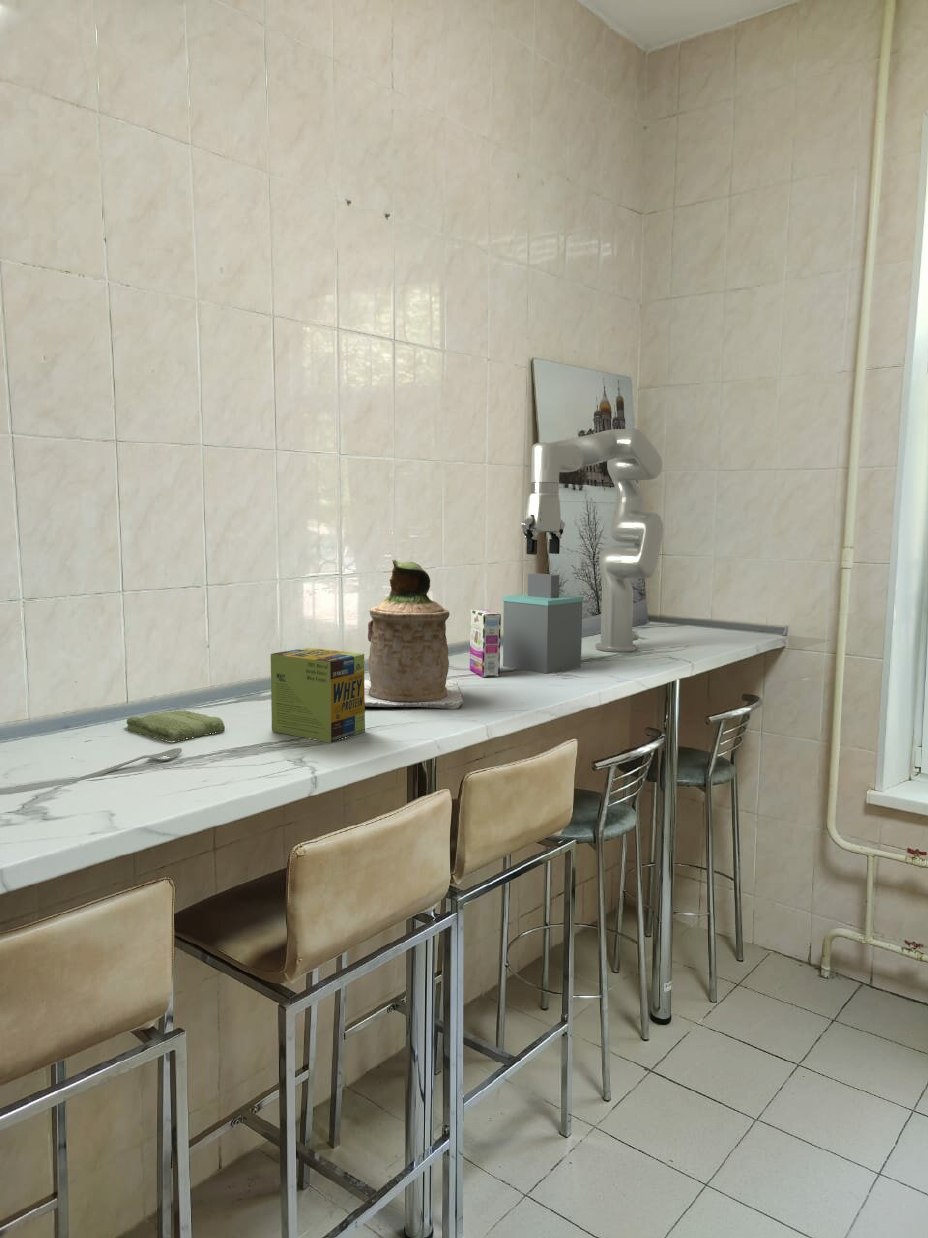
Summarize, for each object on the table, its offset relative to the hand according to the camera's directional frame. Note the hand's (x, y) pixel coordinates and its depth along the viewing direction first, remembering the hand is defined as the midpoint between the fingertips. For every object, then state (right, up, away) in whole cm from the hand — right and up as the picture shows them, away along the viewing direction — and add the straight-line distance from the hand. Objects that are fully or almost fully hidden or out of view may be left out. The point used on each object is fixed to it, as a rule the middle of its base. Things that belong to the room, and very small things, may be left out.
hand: (543, 554), depth 240 cm
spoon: (-78, -43, -90) cm, 127 cm away
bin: (0, -30, +4) cm, 31 cm away
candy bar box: (-16, -32, -7) cm, 36 cm away
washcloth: (-78, -40, -66) cm, 109 cm away
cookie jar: (-34, -36, -36) cm, 61 cm away
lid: (0, -13, +2) cm, 13 cm away
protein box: (-50, -40, -66) cm, 92 cm away
